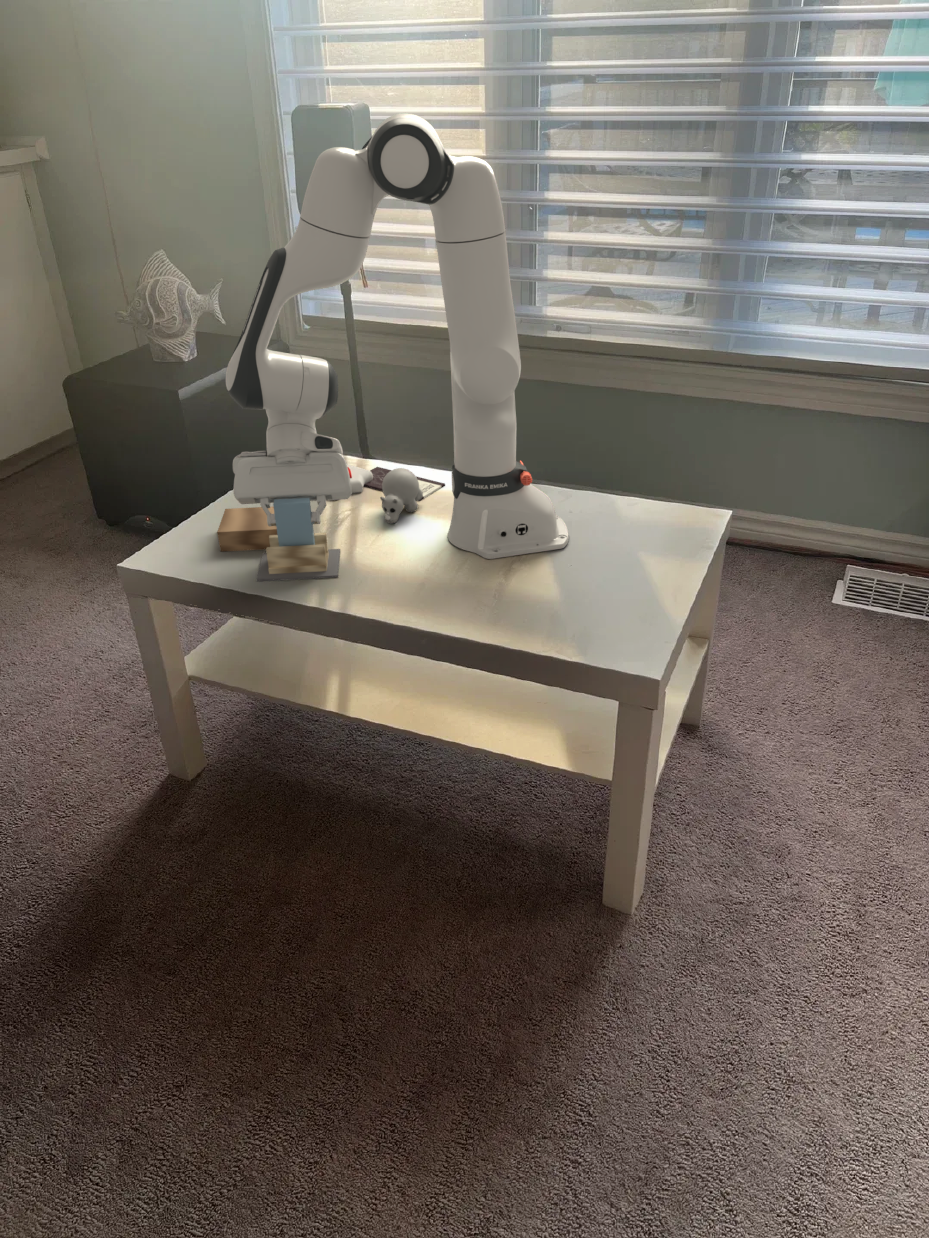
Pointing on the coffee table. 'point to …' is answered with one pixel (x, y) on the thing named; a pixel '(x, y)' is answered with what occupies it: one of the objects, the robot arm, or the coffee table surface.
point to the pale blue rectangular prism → (294, 522)
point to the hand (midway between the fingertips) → (294, 524)
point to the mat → (330, 573)
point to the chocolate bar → (424, 484)
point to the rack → (298, 556)
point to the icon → (358, 478)
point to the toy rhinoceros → (400, 493)
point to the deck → (245, 529)
